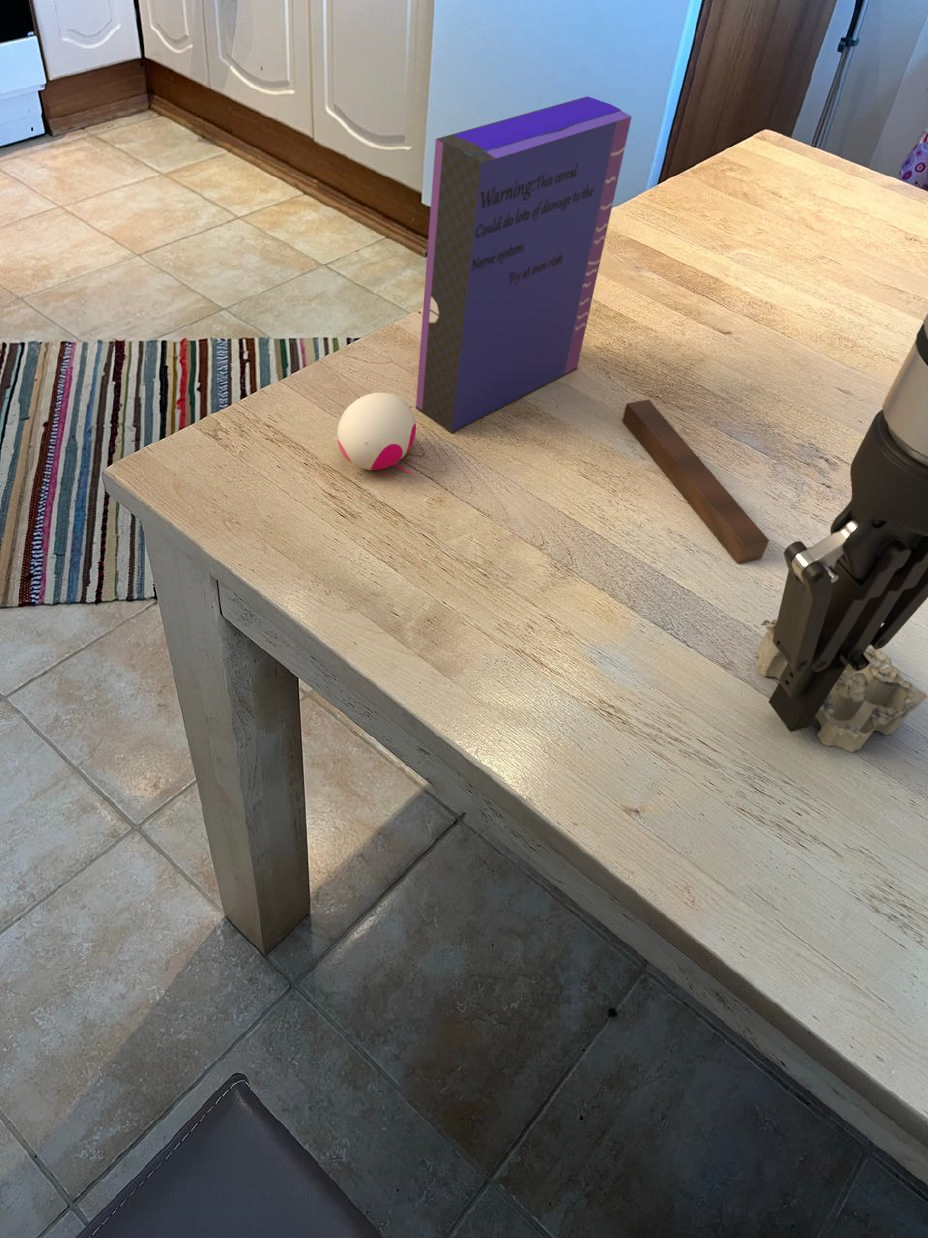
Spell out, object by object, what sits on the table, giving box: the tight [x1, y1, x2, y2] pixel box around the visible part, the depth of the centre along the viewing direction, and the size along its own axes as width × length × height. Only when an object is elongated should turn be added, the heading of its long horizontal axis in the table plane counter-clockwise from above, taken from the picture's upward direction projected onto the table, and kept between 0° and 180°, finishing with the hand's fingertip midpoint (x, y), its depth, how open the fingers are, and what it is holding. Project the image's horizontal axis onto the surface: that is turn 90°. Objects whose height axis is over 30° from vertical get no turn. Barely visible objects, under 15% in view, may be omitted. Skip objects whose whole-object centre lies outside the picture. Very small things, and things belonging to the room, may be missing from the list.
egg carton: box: [755, 619, 928, 753], centre depth 67 cm, size 11×8×4 cm
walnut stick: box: [622, 399, 770, 564], centre depth 83 cm, size 20×2×2 cm, turn 22°
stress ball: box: [336, 392, 417, 475], centre depth 80 cm, size 8×8×7 cm
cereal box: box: [415, 95, 632, 434], centre depth 82 cm, size 17×5×24 cm, turn 134°
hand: (788, 714), depth 65 cm, fingers closed
